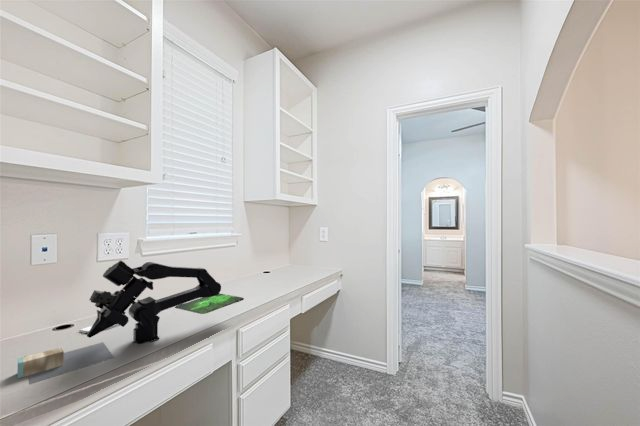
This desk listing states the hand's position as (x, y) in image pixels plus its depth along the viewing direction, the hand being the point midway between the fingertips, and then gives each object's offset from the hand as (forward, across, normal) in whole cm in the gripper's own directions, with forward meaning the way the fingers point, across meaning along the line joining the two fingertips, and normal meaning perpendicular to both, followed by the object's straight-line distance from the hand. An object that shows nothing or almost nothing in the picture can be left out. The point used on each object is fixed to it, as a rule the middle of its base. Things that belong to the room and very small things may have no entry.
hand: (88, 336), depth 86 cm
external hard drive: (-1, -26, +11) cm, 28 cm away
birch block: (+7, 0, -2) cm, 7 cm away
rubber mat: (+7, 0, +2) cm, 7 cm away
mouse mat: (-31, -24, +42) cm, 58 cm away
